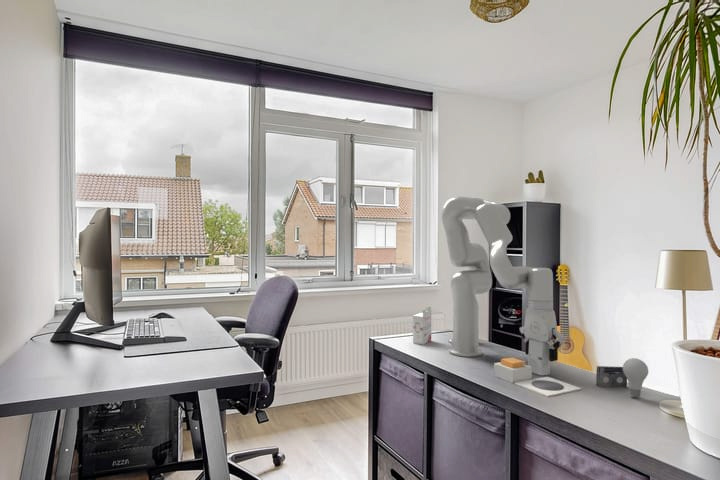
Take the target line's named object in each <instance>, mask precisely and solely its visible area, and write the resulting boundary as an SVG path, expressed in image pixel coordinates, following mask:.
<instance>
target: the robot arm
mask: <svg viewBox="0 0 720 480" xmlns="http://www.w3.org/2000/svg"><path fill="white" fill-rule="evenodd" d="M463 220H475V221H476V222H477V225H478V226H479V228H480V230H481V232H482V234H483V236H484V238H485V239H486V242H487V243H488V245H489V253H487V250H486V248H484V246H483V245H481V244H480V243H477V242H471V241H470V235H469V232H468V231H469V230H468V228H467V226H466V225H465V224H464V222H463ZM510 220H511V212H510V210H509V208H508V207H507V206H506V205H504V204H501V203H497V202H493V201H490V200H486V199H483V198H479V197H478V198H477V197H471V196H470V197H469V196H468V197H467V196H456V197H452V198H449V199H448V200H447V201H446V202H445V204H444V205H443V207H442V211H441V221H442V225H443V228H444V232H445V236H446V237H445V238H446V241H447V248H448V253H449V258H450V262H451V264H452V265H453V266H454V267H456V268H468V270H461V271H458V272H456V273H455V274H453V276H452V277H451V280H450V289H451V293H452V303H453V305H452V310H453V311H452V312H453V313H452V315H453V316H452V324H453V325H452V331H453V332H452V337H451V339H448V343H449V344H451V346H450V347H449V348H448V353H449V354H452V355H453V356H457V357H458V356H459V357H465V358H467V357H469V358H471V357H472V358H473V357H475V358H476V357H481V356H482V355H483V350H482V349H480V348H479V331H480V330H479V322H480V321H479V318H480V317H479V314H480V313H479V311H480V310H479V309H480V308H479V303H478V300H477V297H476V295H482V294H486V293H488V292H489V291H490V289H491V288H492V285H493V277H492V273H491V271H492V272H493V274H494V277H495V278H496V280H497V281H498V283H499V285H500V286H501V287H503V288H504V289H507V290H516V289H517V290H518V289H526V288H527V290H528V293H527V295H528V300H527V301H526V304H527V305H528V307H527V308H526V311H525V314H524V322H523V323H524V325H523V326H520V327H519V332H520V334H521V337H522V339H523V342H524V343H525V355H527V356H528V354H529V339H533V340H537V341H541V342H547V343H548V344H549V346H550V348H551V349H549V361H551V363H552V362H556V361H559V360H558V359H559V356H558V355H559V354H558V353H559V351H558V350H559V349H560V348H561V346H562V345H563V343H564V341H565V336H564V334H562V333H561V332H560V331H558V327H557V326H558V324H557V318H556V317H557V316H556V312H555V310H554V277H553V276H554V274H553V271H552V269H551V268H548V267H532V266H531V267H530V266H525V265H522V266H513V264H512V263H511V261H510V258H509V257H508V253H507V247H508V245H509V244H510V243H511V242H512V241H513V235H512V232H511V231H510V230H509V228H508V226H507V224H509V222H510ZM488 254H489V257H488Z"/></svg>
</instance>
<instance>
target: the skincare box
mask: <svg viewBox="0 0 720 480" xmlns="http://www.w3.org/2000/svg"><path fill="white" fill-rule="evenodd" d="M549 349H551V348H550V346H549V344H548V343H547V342H541V341H537V340H533V339H529V354H528V355H527V356H528V357H527V358H528V359H527V361H528V362H527V365H528V366H531V367H532V374H533V373H534V374H535V375H538V376H548V375H550V374H551V365H552V364H551V363H552V362H551V361H549Z"/></svg>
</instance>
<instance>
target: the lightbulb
mask: <svg viewBox="0 0 720 480" xmlns="http://www.w3.org/2000/svg"><path fill="white" fill-rule="evenodd" d="M622 367H623V372H624V374H625V376H626V377H627V384H628V388H629V395H630V396H632V398H635V399H637V398H640V397H641V392H642V389H643V384H644V381H645V380H646V378H647V376H648V375H649V367H648V365H647V364H646V362H644V360H642V359H639V358H637V357H635V358H628V359H627V360H626V361H624V363H623V365H622Z"/></svg>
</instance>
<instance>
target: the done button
mask: <svg viewBox="0 0 720 480" xmlns="http://www.w3.org/2000/svg"><path fill="white" fill-rule="evenodd" d="M500 362H501V364H502V365H504V366H507V367H510V368H519V367H524V364H525V360H521V359H518V358H516V357H513V356H512V357H508V358H501V359H500Z"/></svg>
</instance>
